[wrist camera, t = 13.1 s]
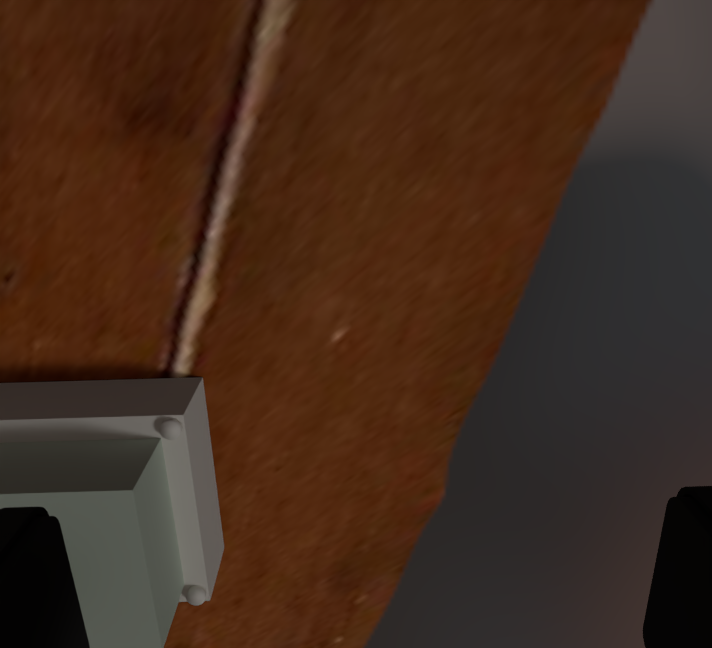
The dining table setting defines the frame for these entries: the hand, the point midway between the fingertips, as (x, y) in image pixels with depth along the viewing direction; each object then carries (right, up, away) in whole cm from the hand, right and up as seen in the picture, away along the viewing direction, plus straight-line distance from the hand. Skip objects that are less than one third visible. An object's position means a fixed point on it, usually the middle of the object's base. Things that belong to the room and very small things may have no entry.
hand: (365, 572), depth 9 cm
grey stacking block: (-17, -6, +32) cm, 37 cm away
